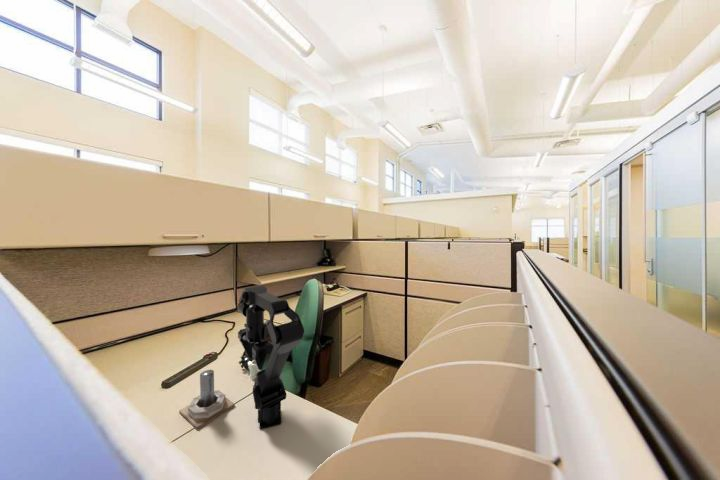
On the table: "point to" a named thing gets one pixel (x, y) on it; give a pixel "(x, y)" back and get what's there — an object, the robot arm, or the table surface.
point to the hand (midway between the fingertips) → (255, 363)
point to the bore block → (206, 410)
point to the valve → (250, 366)
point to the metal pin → (207, 388)
